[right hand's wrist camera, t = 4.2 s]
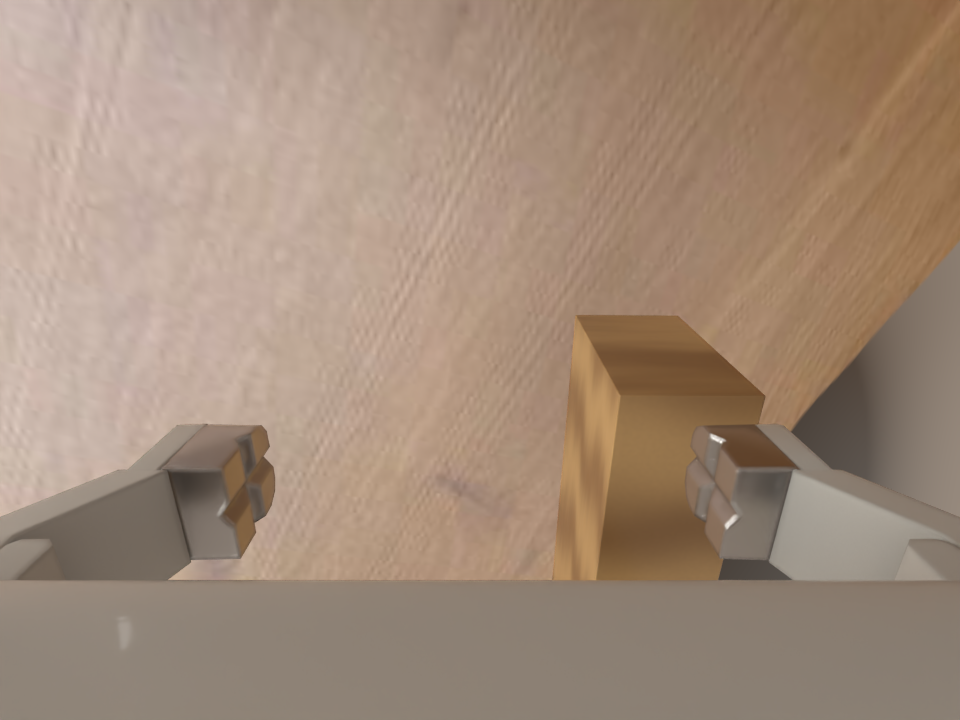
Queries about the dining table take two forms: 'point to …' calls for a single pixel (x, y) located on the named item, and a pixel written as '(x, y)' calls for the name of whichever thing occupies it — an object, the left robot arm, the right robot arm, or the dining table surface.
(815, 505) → the right robot arm
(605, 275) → the dining table surface
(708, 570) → the bar
